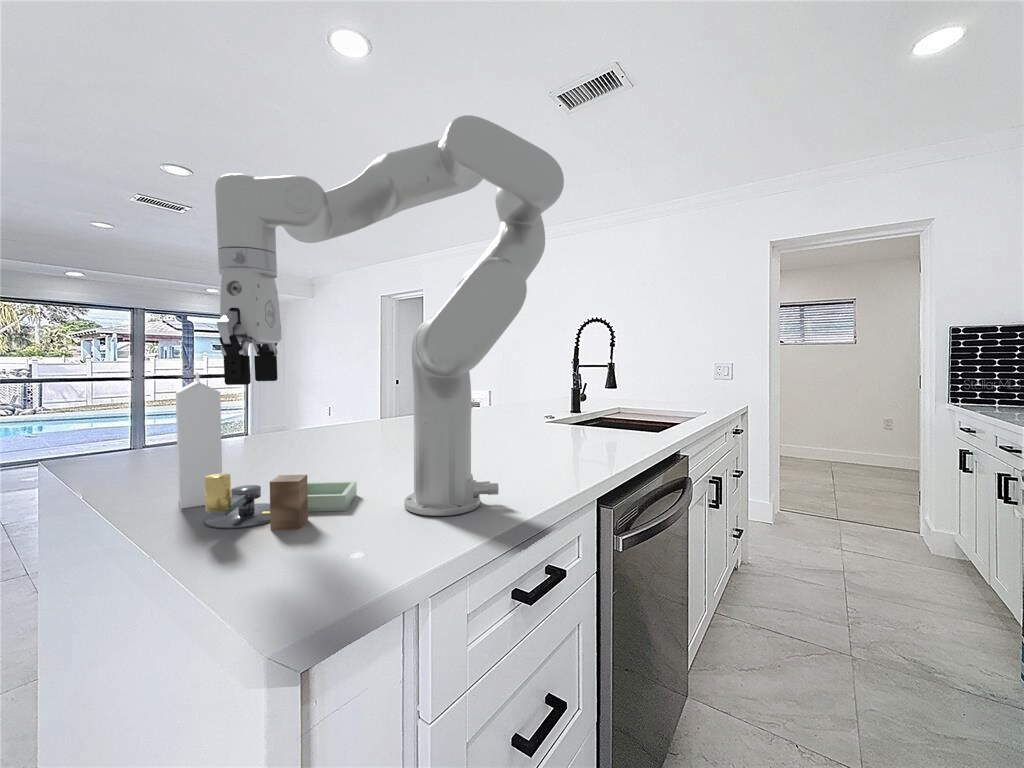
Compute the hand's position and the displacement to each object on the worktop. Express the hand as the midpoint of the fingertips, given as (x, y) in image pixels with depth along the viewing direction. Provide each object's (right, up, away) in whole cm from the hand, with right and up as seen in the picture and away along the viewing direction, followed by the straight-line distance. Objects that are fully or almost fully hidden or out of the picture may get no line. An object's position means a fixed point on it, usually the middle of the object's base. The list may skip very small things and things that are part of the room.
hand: (253, 382), depth 72 cm
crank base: (-3, -21, +3) cm, 21 cm away
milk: (-15, -21, +11) cm, 28 cm away
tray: (+6, -20, +11) cm, 24 cm away
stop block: (+5, -21, 0) cm, 22 cm away
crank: (-2, -18, -1) cm, 18 cm away
